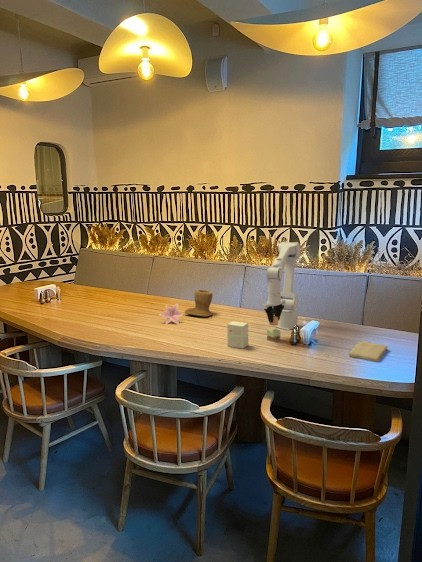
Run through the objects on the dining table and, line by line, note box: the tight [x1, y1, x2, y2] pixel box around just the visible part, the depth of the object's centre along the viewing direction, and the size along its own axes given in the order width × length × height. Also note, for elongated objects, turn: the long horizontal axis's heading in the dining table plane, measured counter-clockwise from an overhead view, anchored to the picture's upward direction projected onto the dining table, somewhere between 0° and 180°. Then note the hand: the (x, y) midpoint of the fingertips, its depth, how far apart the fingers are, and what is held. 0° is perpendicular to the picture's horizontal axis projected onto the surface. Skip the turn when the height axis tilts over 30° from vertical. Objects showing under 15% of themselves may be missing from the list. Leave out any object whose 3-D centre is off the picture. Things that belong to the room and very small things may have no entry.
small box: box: [226, 321, 249, 349], centre depth 187 cm, size 8×6×10 cm
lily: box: [158, 302, 184, 325], centre depth 226 cm, size 12×12×10 cm
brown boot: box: [183, 289, 213, 317], centre depth 239 cm, size 15×12×15 cm
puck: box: [268, 316, 279, 327], centre depth 193 cm, size 4×4×4 cm
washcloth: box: [348, 340, 388, 363], centre depth 176 cm, size 12×18×3 cm, turn 146°
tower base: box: [266, 335, 281, 343], centre depth 195 cm, size 4×4×2 cm
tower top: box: [266, 327, 281, 337], centre depth 194 cm, size 4×4×2 cm
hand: (273, 321), depth 193 cm, fingers closed on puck, 4 cm apart
